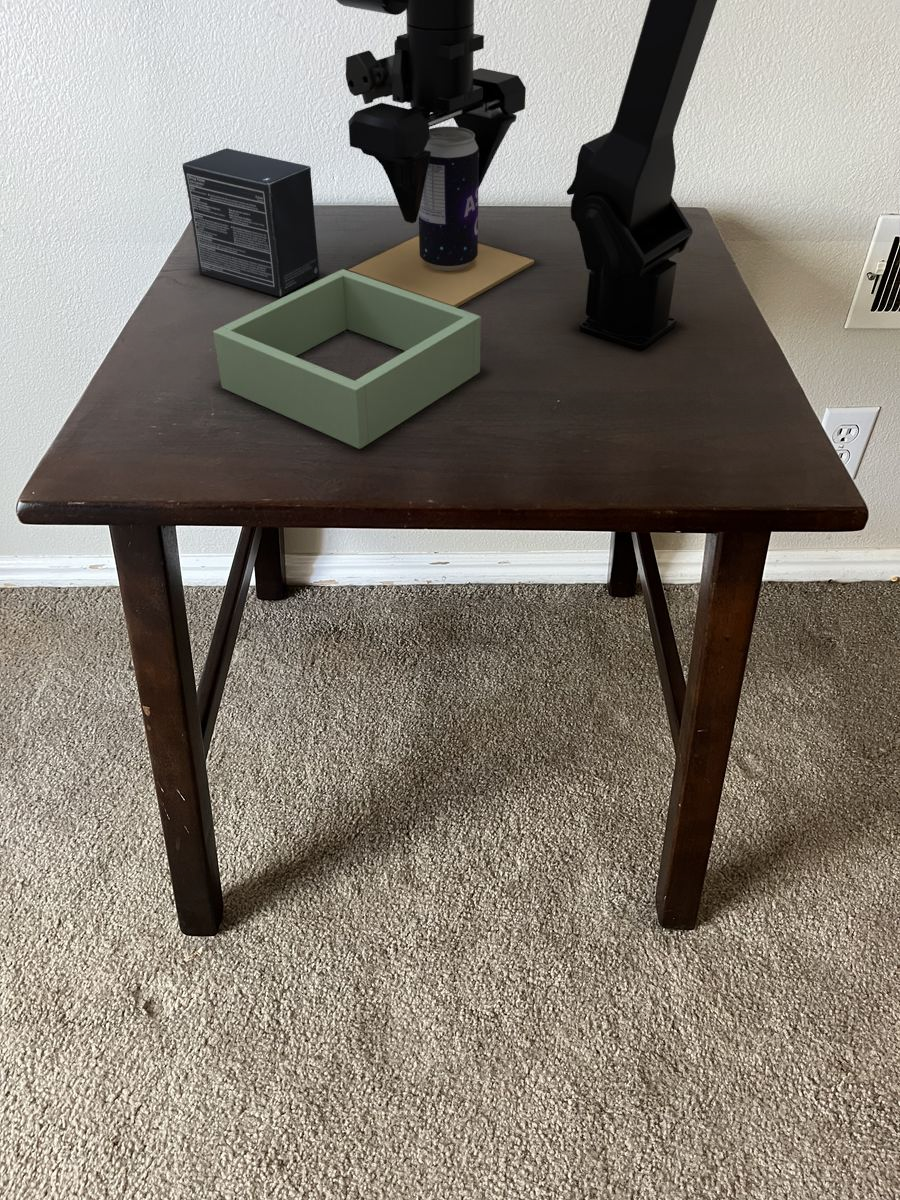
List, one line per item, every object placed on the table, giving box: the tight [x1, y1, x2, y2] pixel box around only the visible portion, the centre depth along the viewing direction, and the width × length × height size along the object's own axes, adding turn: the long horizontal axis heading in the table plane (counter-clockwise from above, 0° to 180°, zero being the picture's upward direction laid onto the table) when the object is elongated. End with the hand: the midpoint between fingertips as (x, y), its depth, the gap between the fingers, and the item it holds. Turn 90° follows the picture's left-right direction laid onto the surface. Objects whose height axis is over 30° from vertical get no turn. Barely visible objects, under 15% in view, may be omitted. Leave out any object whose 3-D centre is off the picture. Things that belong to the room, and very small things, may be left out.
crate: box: [212, 268, 482, 450], centre depth 84 cm, size 15×15×5 cm
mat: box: [347, 235, 535, 308], centre depth 102 cm, size 13×13×1 cm
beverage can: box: [418, 125, 479, 271], centre depth 98 cm, size 6×6×12 cm
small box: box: [182, 147, 320, 298], centre depth 98 cm, size 11×6×10 cm, turn 58°
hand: (441, 207), depth 98 cm, fingers open, 9 cm apart
